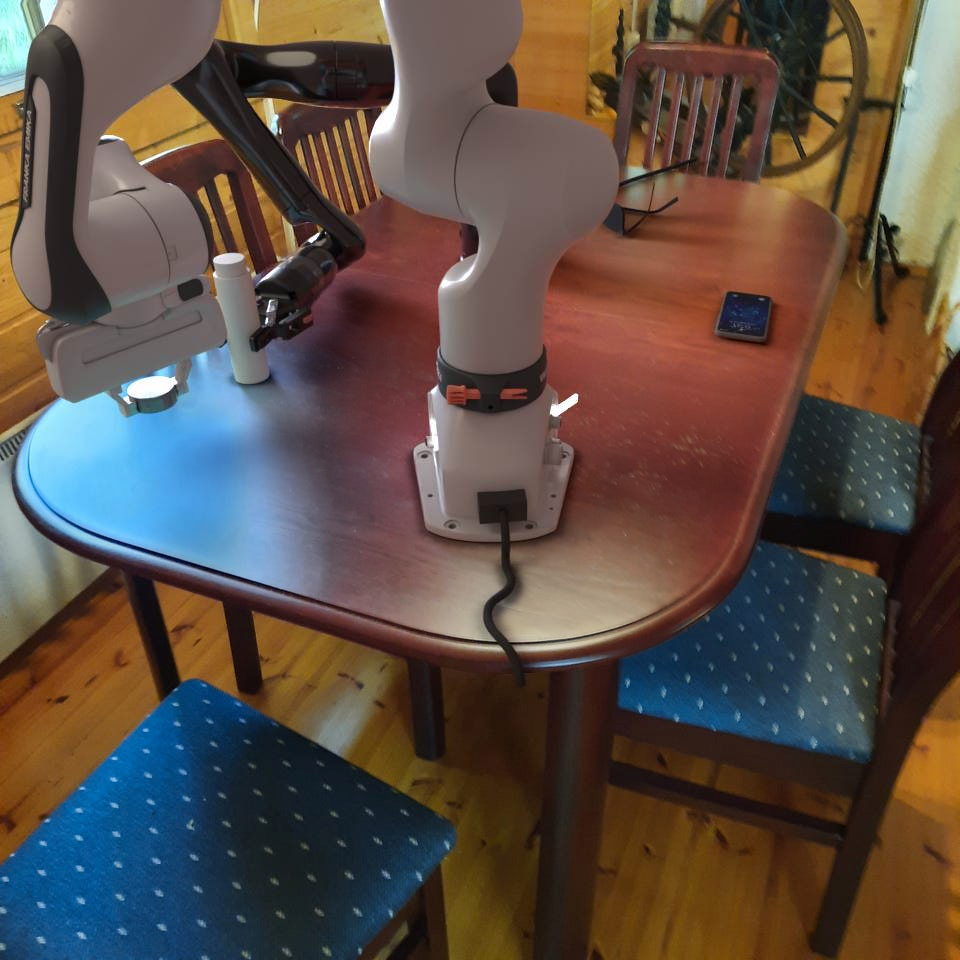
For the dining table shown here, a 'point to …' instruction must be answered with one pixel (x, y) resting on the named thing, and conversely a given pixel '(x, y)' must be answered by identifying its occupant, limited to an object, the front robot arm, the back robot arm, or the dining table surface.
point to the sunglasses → (617, 214)
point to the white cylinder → (240, 317)
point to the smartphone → (744, 316)
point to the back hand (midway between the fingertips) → (234, 343)
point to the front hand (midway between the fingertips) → (156, 403)
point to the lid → (153, 394)
